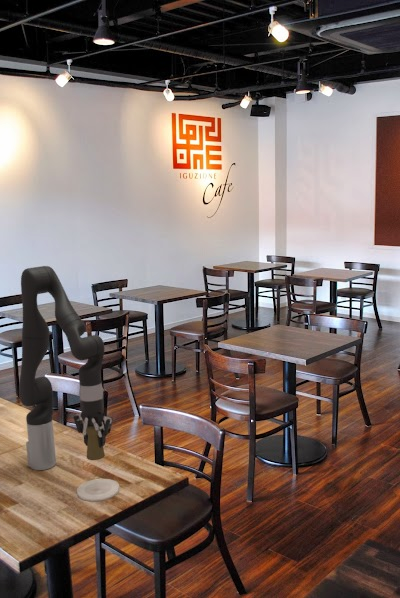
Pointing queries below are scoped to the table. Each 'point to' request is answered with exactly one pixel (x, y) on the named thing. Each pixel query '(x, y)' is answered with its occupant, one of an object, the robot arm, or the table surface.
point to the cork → (93, 444)
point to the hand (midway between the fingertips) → (94, 445)
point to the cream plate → (98, 490)
